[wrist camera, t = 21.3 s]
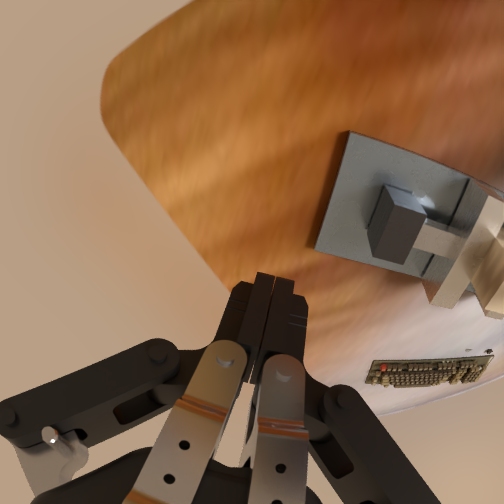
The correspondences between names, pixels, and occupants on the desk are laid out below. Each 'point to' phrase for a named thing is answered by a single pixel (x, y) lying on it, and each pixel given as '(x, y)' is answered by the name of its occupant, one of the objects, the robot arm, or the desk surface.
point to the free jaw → (438, 237)
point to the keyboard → (427, 371)
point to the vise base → (369, 192)
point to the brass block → (492, 276)
